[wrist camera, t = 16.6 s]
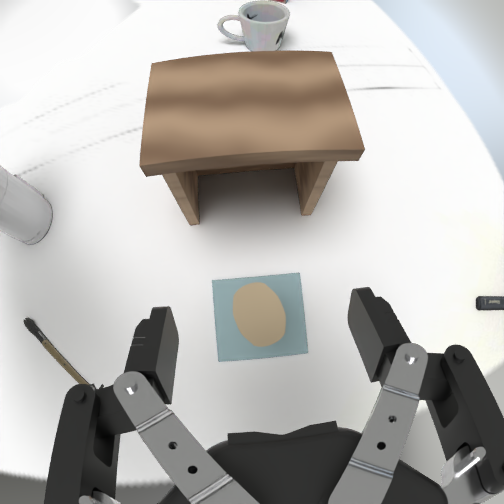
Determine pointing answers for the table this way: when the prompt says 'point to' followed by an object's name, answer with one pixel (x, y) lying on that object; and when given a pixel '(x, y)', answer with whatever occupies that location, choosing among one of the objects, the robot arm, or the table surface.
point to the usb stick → (489, 303)
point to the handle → (259, 314)
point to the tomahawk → (55, 353)
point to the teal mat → (227, 330)
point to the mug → (259, 25)
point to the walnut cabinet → (247, 121)
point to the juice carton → (282, 0)
